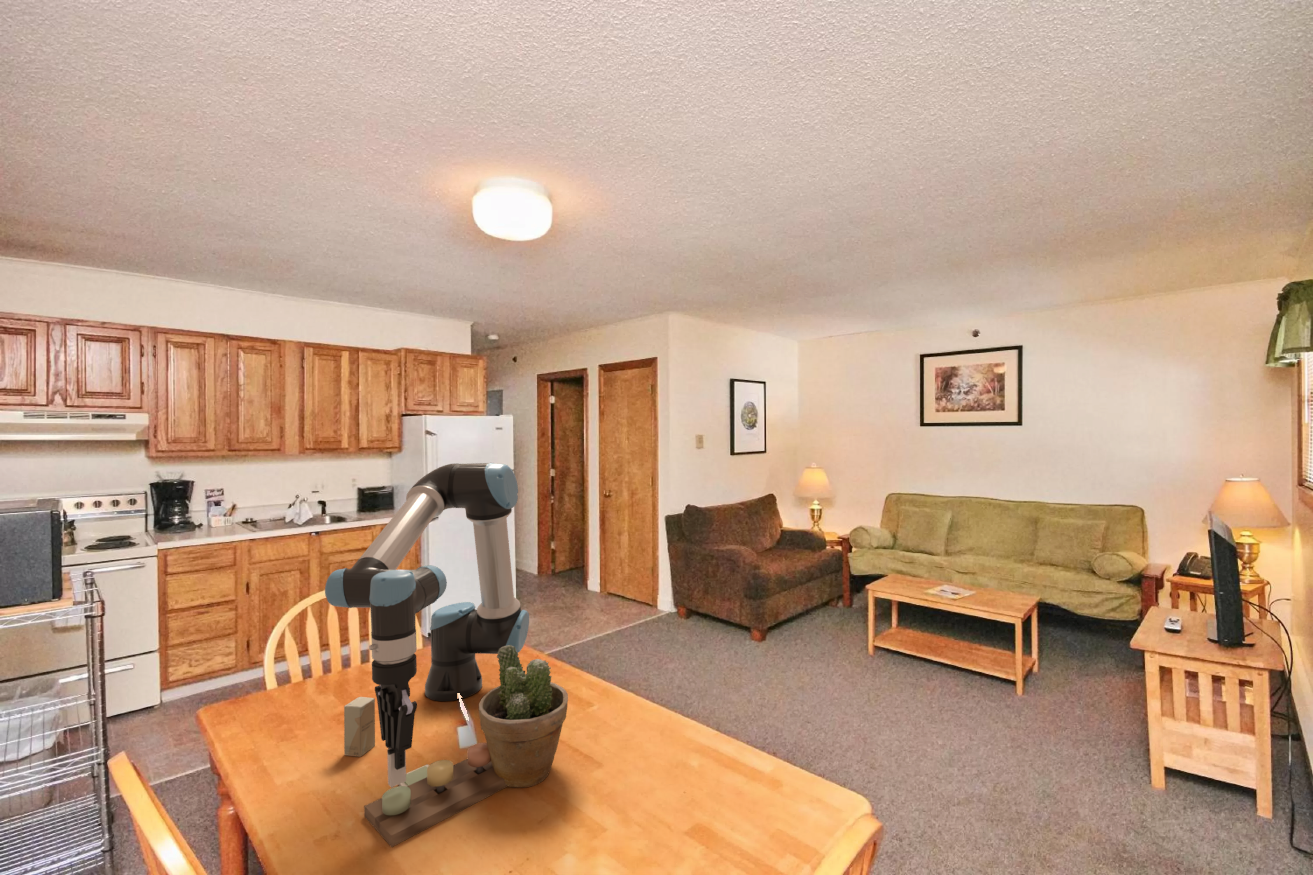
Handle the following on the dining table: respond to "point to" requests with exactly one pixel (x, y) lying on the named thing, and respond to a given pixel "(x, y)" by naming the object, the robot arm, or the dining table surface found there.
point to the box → (359, 726)
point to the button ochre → (440, 774)
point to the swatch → (415, 776)
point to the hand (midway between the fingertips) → (397, 782)
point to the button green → (396, 800)
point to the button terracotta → (478, 756)
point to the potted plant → (522, 720)
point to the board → (435, 802)
